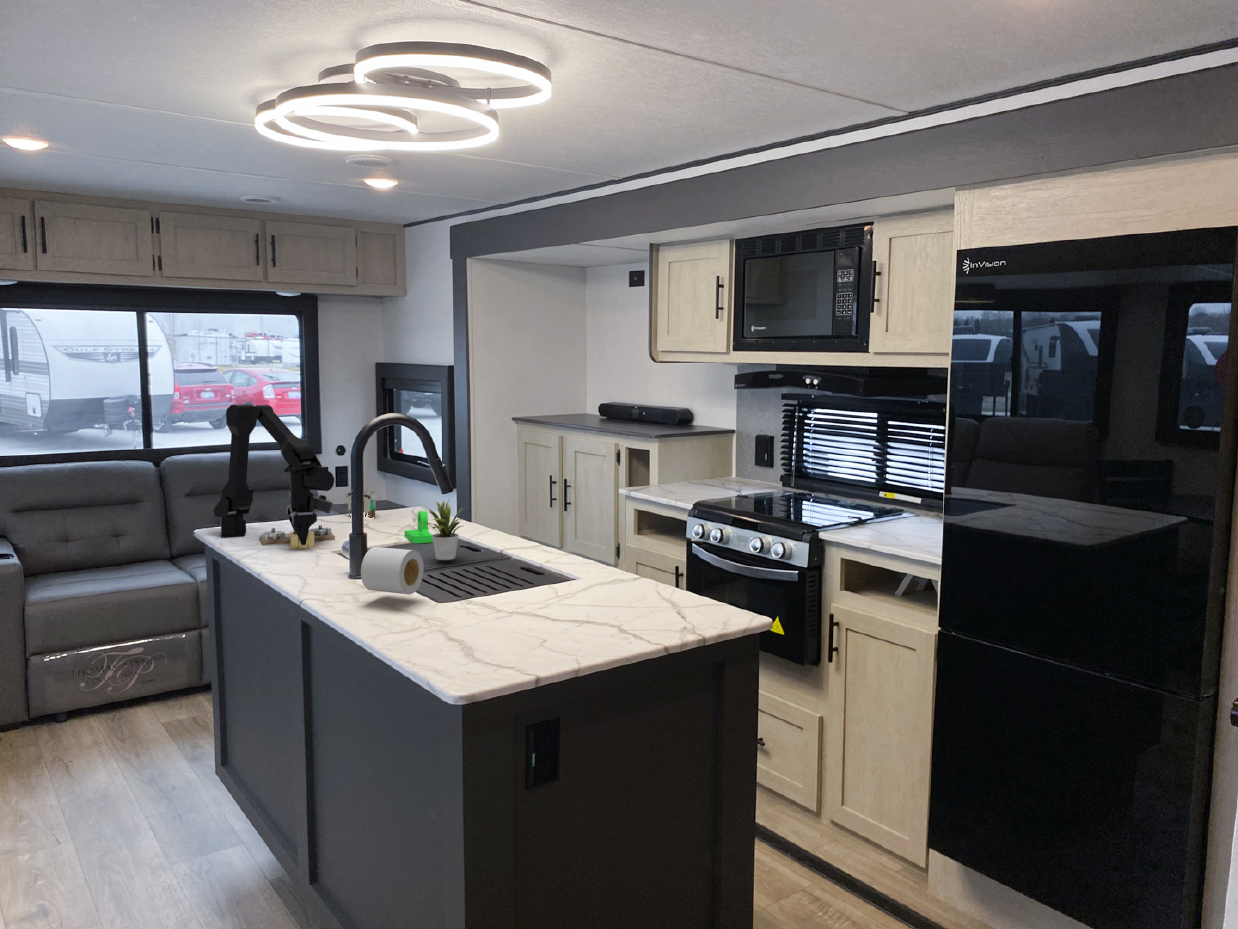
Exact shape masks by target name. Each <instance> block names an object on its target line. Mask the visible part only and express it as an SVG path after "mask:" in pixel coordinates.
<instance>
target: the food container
mask: <svg viewBox="0 0 1238 929" xmlns="http://www.w3.org/2000/svg"><path fill="white" fill-rule="evenodd" d="M363 490H364V512H365V517H366V515H367V513H368V515H369V516H368V517H369V518H373V517H376V504H377V503H376V502H377V500H378V499H379V496H378V493H377V490H376V491H375V490H369V489H367V490H366V489H363ZM351 491H352V490H347V491H346V495H345V497H346V498H347V507H348V517H349V518H351V517H350V513H351Z"/></svg>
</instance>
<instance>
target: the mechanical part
mask: <svg viewBox="0 0 1238 929" xmlns="http://www.w3.org/2000/svg"><path fill="white" fill-rule="evenodd" d="M416 518H417V529H405V530H404V538H406V539H407V540H408V541H409V542H410V543H412V544H426V543H427V544H428V543H433V539H432V535H433V534H432V533H431V532H429V524H426V525H424V526H422V525H423V524H425V523H429V516H428V511H426V510H419V511H418V512H417V517H416ZM422 520H423V521H422ZM425 521H426V522H425Z"/></svg>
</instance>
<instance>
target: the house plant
mask: <svg viewBox="0 0 1238 929" xmlns="http://www.w3.org/2000/svg"><path fill="white" fill-rule="evenodd" d="M434 501H435V503H436V506H437V511H438V514H439V516H438V514H437V513H436V512H435V511H434V510H431V509H429V508H422V509H423V510H425V511H426V510H427V511H428V512H429V514H431V515H432V516H433V519H432V520H434V521H435V523H432V522H428V523H425V524H423V525H422V526H424V525H426V524H428V526H430V527H431V528H432V530H436V529H437V530H438V532H437V533H435V534H432V539H433V542H432V544H433V551H434V555H435V559H436V560H440V561H448V560H454V559H456V557H457V556H456V554H457V548H458V542H459V536H460V535H459V534H458V533H455V532H456V531H457V530H458V529H460V528H462V527H463V525H459V524H460V523H461V521H459V520H461V518H458V516H459V514H460V513H461V512H462V511H463V510H464V508H460V509H459V510H458V512H456V514H455V516H454V517H453V519H452V521H451V512H452V511H451V510H452V509H451V506H450V502H449V501H450V498H449V499H448V501H445V500H443V502H442V503H441V504H440V503H439V502H438V501H437V500H434ZM419 505H420V506H421V504H418V503H417V506H419ZM422 506H424V507H425V505H424V504H422ZM457 518H458V519H457ZM462 520H463V521H464V520H465V519H464V518H462ZM422 521H423V520H422ZM425 522H426V521H425ZM450 522H451V523H450ZM432 525H433V526H432ZM458 525H459V526H458Z"/></svg>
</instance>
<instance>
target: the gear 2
mask: <svg viewBox="0 0 1238 929" xmlns="http://www.w3.org/2000/svg"><path fill="white" fill-rule="evenodd" d="M309 531H313V532H314V536H324V535H330V534H331V533H332V528H329V527H323V525H322V524H319V525H318V527H317V528H313V527H312V528H311V529H309Z"/></svg>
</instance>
